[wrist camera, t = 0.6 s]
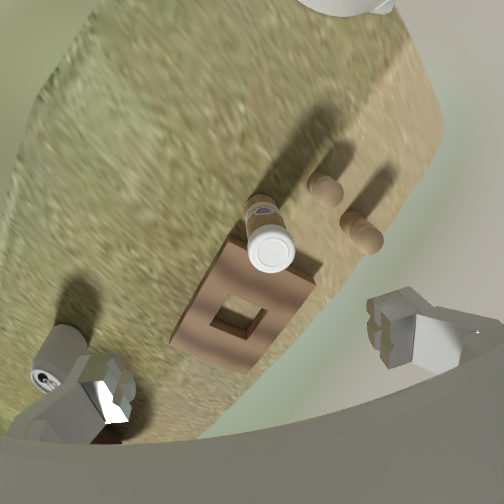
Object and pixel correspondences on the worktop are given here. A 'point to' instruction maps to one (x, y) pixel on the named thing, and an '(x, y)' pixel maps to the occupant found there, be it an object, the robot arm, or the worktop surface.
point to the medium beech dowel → (361, 232)
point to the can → (57, 357)
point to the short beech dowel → (325, 189)
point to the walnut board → (249, 289)
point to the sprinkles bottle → (267, 235)
